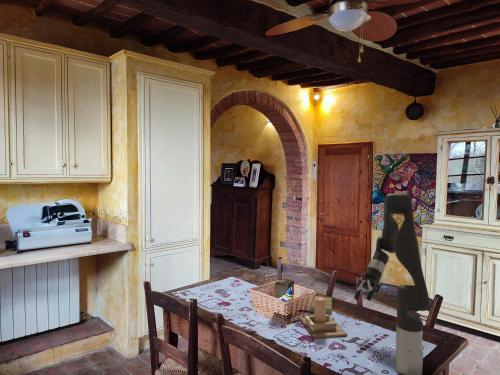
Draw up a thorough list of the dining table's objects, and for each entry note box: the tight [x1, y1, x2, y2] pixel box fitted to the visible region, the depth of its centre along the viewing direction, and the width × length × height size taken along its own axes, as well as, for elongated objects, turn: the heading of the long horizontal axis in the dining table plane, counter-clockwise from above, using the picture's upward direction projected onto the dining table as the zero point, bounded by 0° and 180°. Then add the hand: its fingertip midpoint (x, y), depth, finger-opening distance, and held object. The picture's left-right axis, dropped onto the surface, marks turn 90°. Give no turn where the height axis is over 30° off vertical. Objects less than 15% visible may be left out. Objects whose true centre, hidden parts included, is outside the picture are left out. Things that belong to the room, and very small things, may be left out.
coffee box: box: [274, 278, 295, 298], centre depth 197 cm, size 9×6×16 cm
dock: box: [299, 314, 348, 339], centre depth 178 cm, size 20×16×4 cm
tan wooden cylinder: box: [313, 296, 327, 323], centre depth 178 cm, size 5×5×13 cm
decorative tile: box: [311, 295, 333, 315], centre depth 205 cm, size 19×20×4 cm
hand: (361, 299), depth 172 cm, fingers open, 8 cm apart
